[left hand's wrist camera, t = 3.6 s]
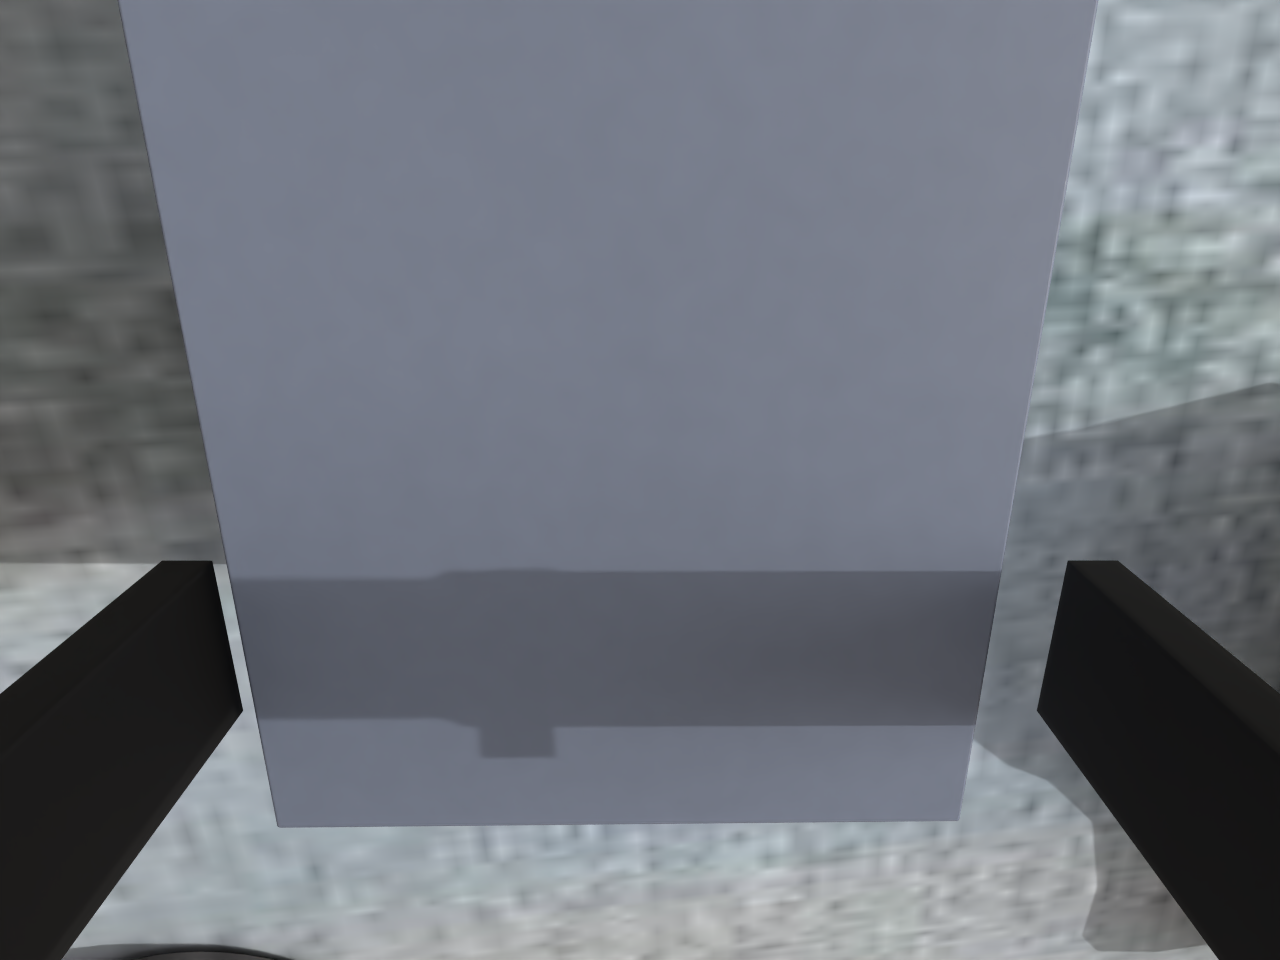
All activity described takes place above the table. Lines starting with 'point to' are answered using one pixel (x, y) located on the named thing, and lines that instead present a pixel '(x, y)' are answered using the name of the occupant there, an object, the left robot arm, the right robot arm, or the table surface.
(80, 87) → the table surface
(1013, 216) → the cabinet
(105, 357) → the table surface
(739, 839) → the table surface
